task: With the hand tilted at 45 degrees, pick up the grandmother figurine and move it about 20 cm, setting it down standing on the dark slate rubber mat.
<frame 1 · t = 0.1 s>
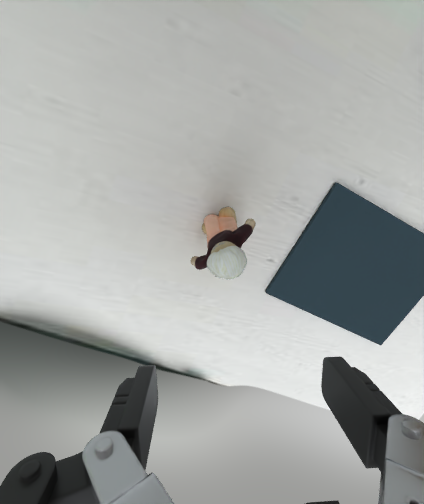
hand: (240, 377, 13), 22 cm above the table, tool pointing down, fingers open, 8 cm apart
grandmother figurine: (216, 225, 34), on the table
mat: (359, 272, 37), on the table
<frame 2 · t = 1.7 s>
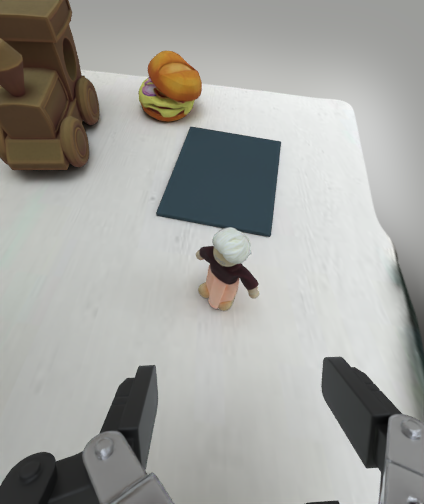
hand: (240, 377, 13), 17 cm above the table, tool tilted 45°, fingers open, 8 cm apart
grandmother figurine: (220, 297, 33), on the table
cheeseburger: (171, 109, 52), on the table
wooden toy train: (63, 139, 46), on the table
mat: (225, 176, 43), on the table
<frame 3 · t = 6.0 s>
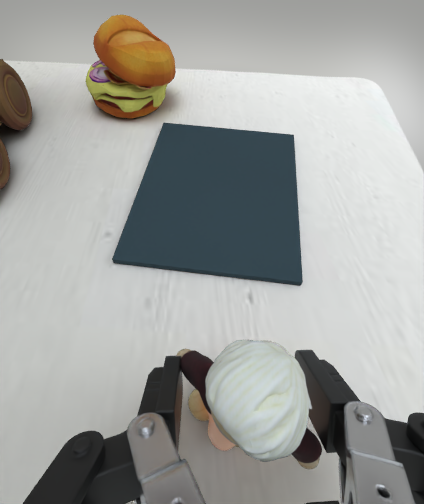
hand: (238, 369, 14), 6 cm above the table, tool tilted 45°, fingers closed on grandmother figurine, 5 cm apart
grandmother figurine: (229, 415, 18), on the table, touching gripper
cheeseburger: (136, 103, 38), on the table
mat: (218, 190, 29), on the table
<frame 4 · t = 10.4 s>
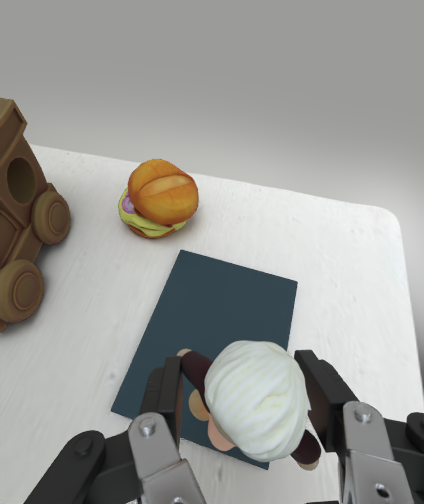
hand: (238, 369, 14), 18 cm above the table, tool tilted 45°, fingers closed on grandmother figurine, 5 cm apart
grandmother figurine: (230, 415, 18), point 12 cm above the table, touching gripper
cheeseburger: (161, 216, 41), on the table
wooden toy train: (20, 261, 37), on the table
mat: (215, 339, 32), on the table
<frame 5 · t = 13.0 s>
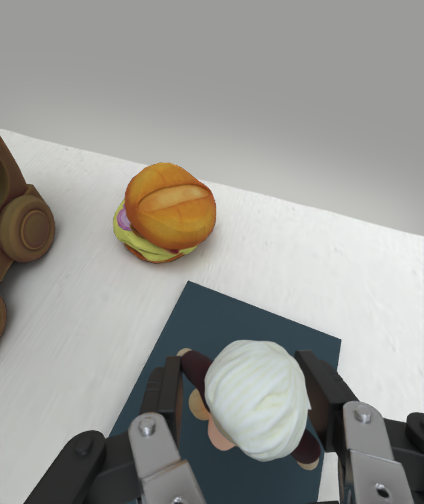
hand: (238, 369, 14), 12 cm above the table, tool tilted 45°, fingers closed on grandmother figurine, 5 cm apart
grandmother figurine: (230, 415, 18), point 6 cm above the table, touching gripper
cheeseburger: (168, 234, 33), on the table
mat: (224, 416, 23), on the table
when the fingers open (7 cm above the table, at t = 15.1 s): grandmother figurine stays where it is, resting on mat.
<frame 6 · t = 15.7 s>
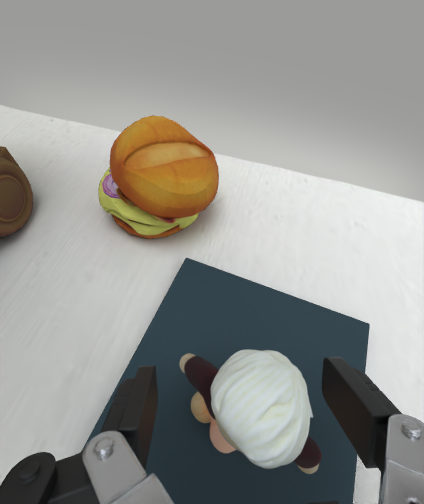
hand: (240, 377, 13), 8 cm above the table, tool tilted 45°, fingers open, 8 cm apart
grandmother figurine: (231, 418, 18), resting on mat
cheeseburger: (163, 208, 29), on the table
mat: (231, 416, 19), on the table
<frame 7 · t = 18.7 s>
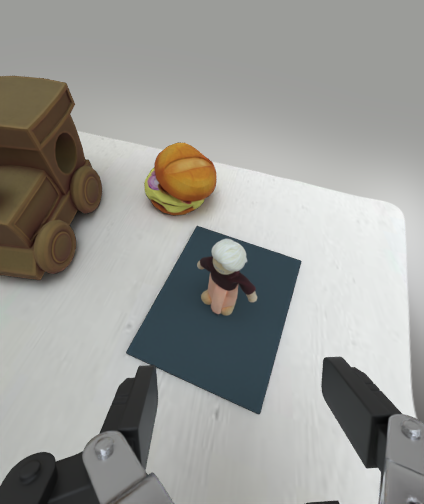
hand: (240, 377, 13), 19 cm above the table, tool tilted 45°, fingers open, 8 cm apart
grandmother figurine: (222, 303, 35), resting on mat
cheeseburger: (181, 197, 46), on the table
wooden toy train: (56, 226, 42), on the table
mat: (222, 303, 35), on the table
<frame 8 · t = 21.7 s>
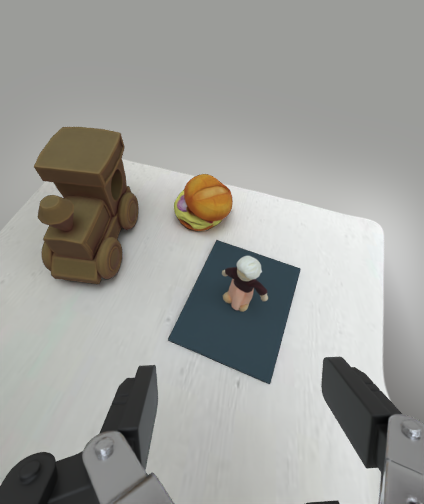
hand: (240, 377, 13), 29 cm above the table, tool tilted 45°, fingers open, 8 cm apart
grandmother figurine: (239, 302, 45), resting on mat
cheeseburger: (202, 215, 56), on the table
wooden toy train: (102, 240, 52), on the table
mat: (239, 302, 46), on the table
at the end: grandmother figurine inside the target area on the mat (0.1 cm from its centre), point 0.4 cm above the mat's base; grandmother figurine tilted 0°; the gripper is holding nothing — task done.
